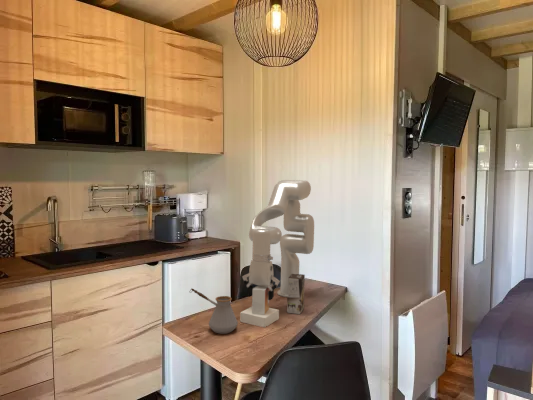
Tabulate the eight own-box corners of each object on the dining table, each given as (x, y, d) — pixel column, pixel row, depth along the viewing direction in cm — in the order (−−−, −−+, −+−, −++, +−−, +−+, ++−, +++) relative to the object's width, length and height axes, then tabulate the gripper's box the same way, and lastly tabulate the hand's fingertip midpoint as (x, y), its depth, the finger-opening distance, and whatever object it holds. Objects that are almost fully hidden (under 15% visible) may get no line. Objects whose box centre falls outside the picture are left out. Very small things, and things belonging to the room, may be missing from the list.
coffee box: (300, 314, 179) (301, 279, 178) (286, 312, 180) (287, 277, 179) (304, 308, 188) (305, 274, 186) (290, 306, 189) (291, 273, 188)
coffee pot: (242, 327, 162) (243, 291, 161) (229, 337, 152) (229, 299, 151) (197, 319, 170) (197, 284, 169) (181, 328, 160) (182, 291, 159)
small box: (264, 315, 166) (265, 290, 165) (251, 313, 167) (252, 289, 166) (269, 309, 173) (269, 285, 173) (256, 307, 175) (257, 284, 174)
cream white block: (255, 314, 179) (255, 304, 179) (278, 320, 173) (279, 309, 173) (240, 322, 169) (240, 312, 168) (264, 328, 163) (265, 318, 162)
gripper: (283, 258, 169) (282, 298, 170) (247, 254, 176) (246, 292, 177) (276, 262, 162) (275, 303, 163) (239, 257, 169) (238, 296, 170)
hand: (260, 297), depth 170 cm, fingers open, 9 cm apart
